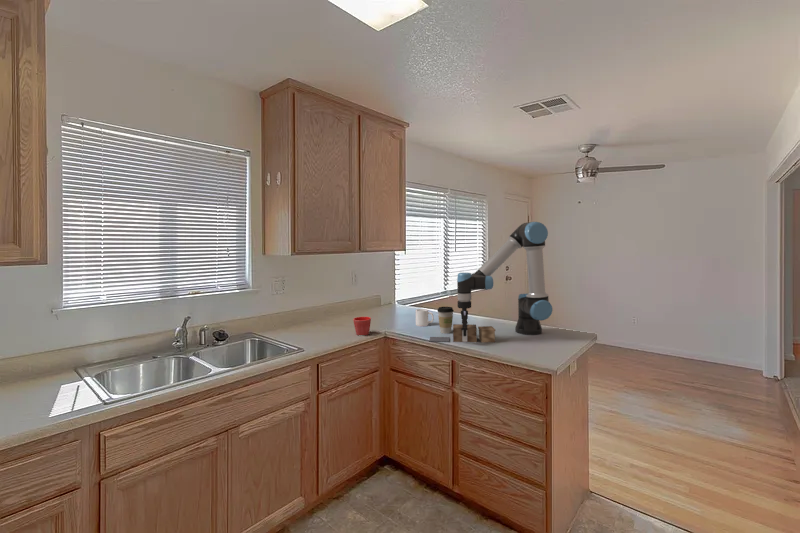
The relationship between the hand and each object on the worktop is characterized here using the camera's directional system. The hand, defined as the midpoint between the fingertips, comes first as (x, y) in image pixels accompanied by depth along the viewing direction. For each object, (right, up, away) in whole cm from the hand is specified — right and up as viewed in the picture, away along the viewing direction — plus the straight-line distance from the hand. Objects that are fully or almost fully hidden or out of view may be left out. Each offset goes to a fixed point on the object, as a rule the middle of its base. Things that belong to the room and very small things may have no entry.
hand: (464, 338), depth 213 cm
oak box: (+12, -1, -2) cm, 12 cm away
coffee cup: (-8, 0, +18) cm, 20 cm away
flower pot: (-59, -1, +19) cm, 62 cm away
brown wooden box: (0, -1, 0) cm, 1 cm away
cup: (-20, +1, +38) cm, 43 cm away
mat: (-14, -1, +2) cm, 14 cm away
